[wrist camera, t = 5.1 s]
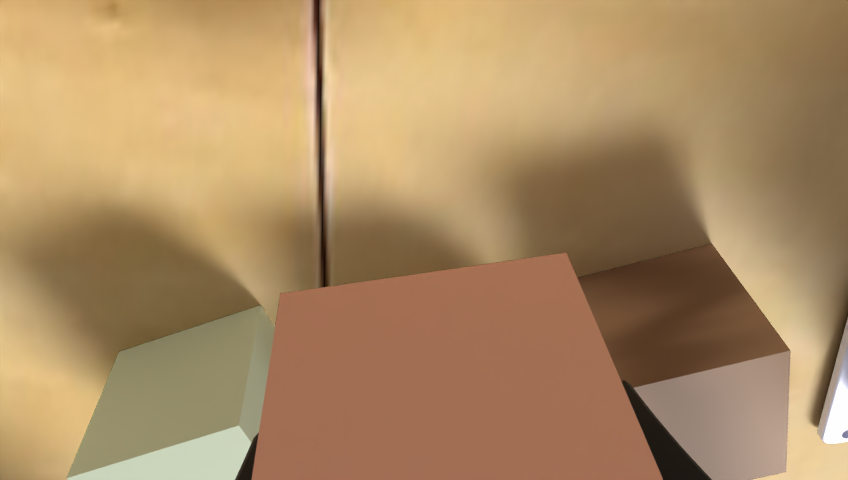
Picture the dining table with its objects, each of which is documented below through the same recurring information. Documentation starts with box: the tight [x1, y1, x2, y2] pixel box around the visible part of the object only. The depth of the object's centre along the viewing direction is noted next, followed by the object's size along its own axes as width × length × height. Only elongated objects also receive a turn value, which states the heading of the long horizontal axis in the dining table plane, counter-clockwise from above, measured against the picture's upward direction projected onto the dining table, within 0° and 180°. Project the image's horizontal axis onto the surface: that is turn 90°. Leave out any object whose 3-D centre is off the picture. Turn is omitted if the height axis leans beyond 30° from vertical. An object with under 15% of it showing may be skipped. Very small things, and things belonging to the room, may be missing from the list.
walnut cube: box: [578, 244, 790, 480], centre depth 22 cm, size 5×5×5 cm
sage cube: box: [67, 305, 275, 480], centre depth 22 cm, size 5×5×5 cm
